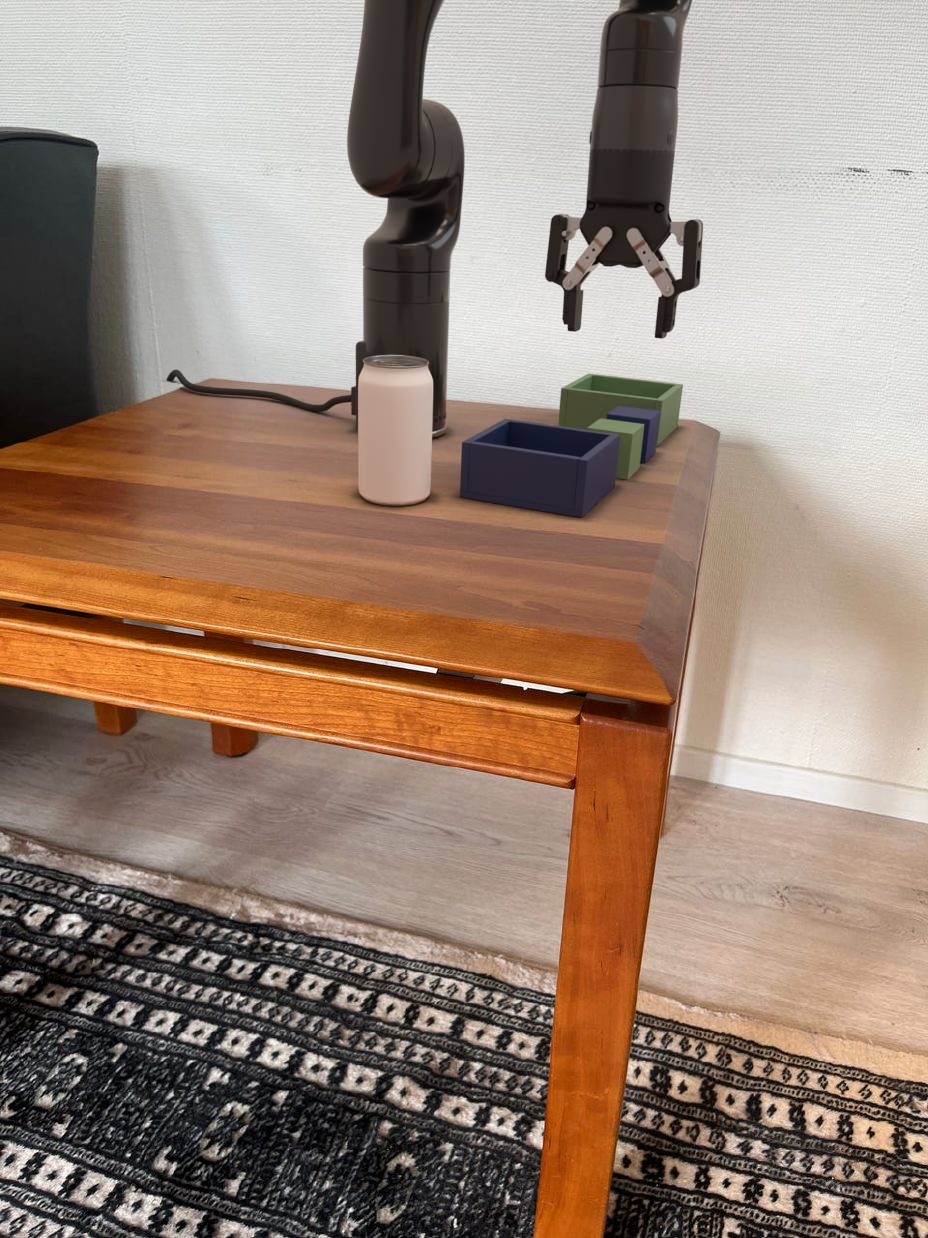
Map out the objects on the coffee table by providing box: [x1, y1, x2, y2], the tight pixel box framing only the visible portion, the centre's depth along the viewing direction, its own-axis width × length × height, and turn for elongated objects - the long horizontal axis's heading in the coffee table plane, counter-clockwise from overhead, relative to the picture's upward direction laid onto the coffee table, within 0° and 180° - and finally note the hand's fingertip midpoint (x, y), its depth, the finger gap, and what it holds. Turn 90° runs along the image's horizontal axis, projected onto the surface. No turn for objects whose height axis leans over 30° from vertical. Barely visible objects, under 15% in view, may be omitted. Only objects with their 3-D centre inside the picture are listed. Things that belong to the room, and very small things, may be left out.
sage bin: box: [557, 372, 684, 448], centre depth 114 cm, size 12×11×5 cm
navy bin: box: [459, 418, 620, 518], centre depth 91 cm, size 12×11×5 cm
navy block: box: [606, 406, 660, 464], centre depth 104 cm, size 5×5×5 cm
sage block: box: [587, 418, 644, 481], centre depth 98 cm, size 5×5×5 cm
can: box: [357, 355, 433, 507], centre depth 86 cm, size 6×6×12 cm
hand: (616, 333), depth 94 cm, fingers open, 8 cm apart
